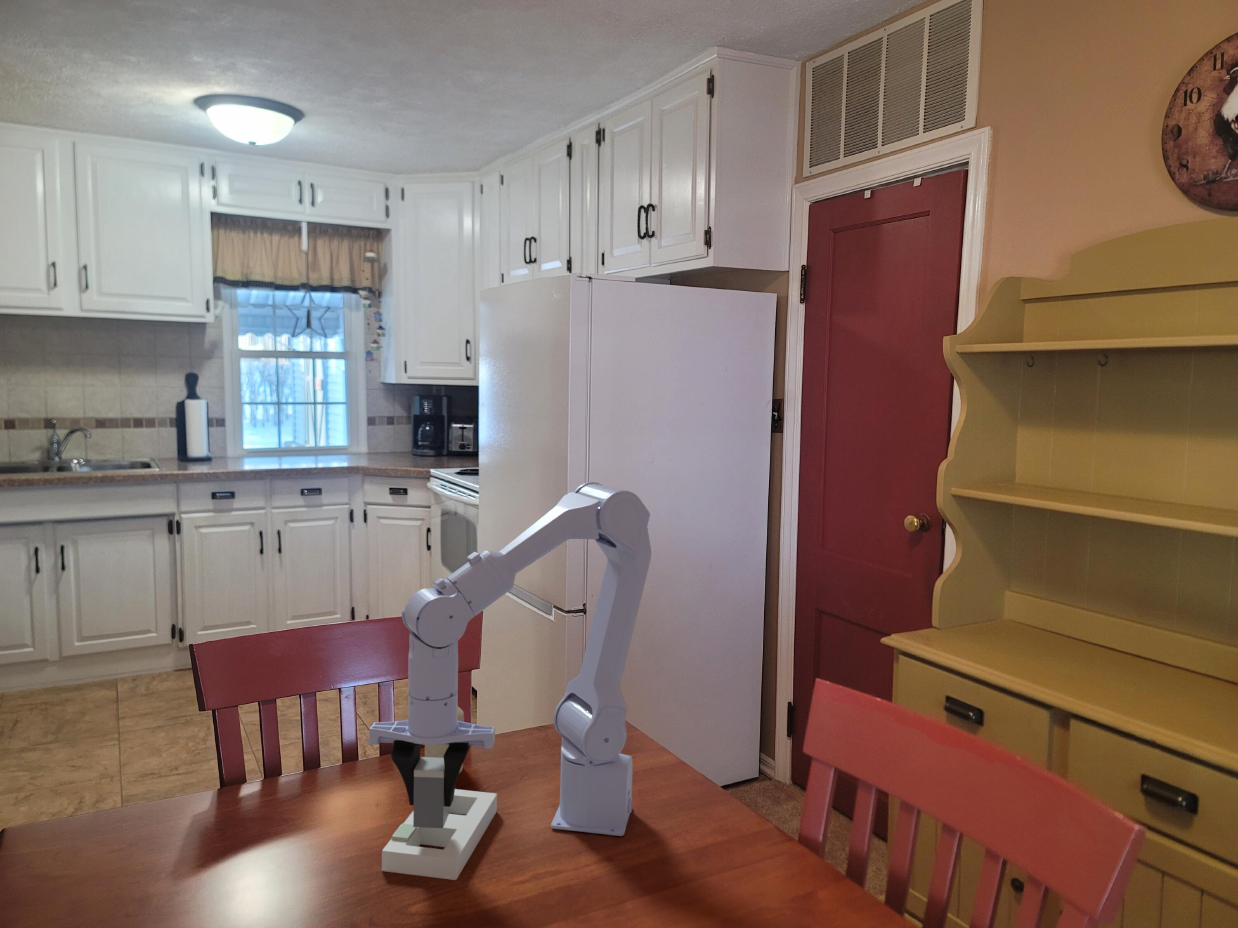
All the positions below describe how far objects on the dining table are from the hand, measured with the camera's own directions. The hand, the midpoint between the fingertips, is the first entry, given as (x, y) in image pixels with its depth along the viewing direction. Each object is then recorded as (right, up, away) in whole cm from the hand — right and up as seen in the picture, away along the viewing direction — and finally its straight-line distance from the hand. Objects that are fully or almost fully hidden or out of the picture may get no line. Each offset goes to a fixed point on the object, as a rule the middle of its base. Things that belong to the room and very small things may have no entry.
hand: (431, 801), depth 104 cm
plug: (0, -2, 0) cm, 2 cm away
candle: (-3, -5, +23) cm, 24 cm away
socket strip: (0, -7, +5) cm, 8 cm away
